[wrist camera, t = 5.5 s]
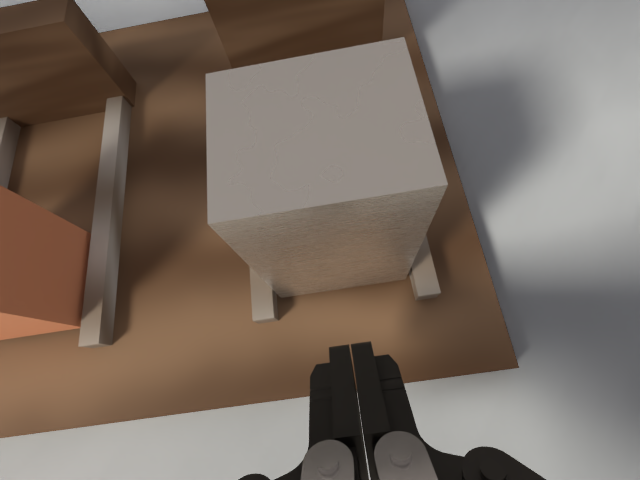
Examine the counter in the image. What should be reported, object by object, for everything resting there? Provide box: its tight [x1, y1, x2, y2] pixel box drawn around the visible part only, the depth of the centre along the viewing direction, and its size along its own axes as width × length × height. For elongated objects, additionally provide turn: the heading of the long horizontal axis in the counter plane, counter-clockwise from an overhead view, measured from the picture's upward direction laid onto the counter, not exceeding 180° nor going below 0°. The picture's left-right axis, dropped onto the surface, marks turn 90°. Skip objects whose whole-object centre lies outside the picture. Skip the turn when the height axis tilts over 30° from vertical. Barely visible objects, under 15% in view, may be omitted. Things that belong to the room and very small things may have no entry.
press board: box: [0, 0, 519, 438], centre depth 19 cm, size 26×30×7 cm
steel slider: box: [206, 37, 448, 298], centre depth 14 cm, size 5×6×9 cm
